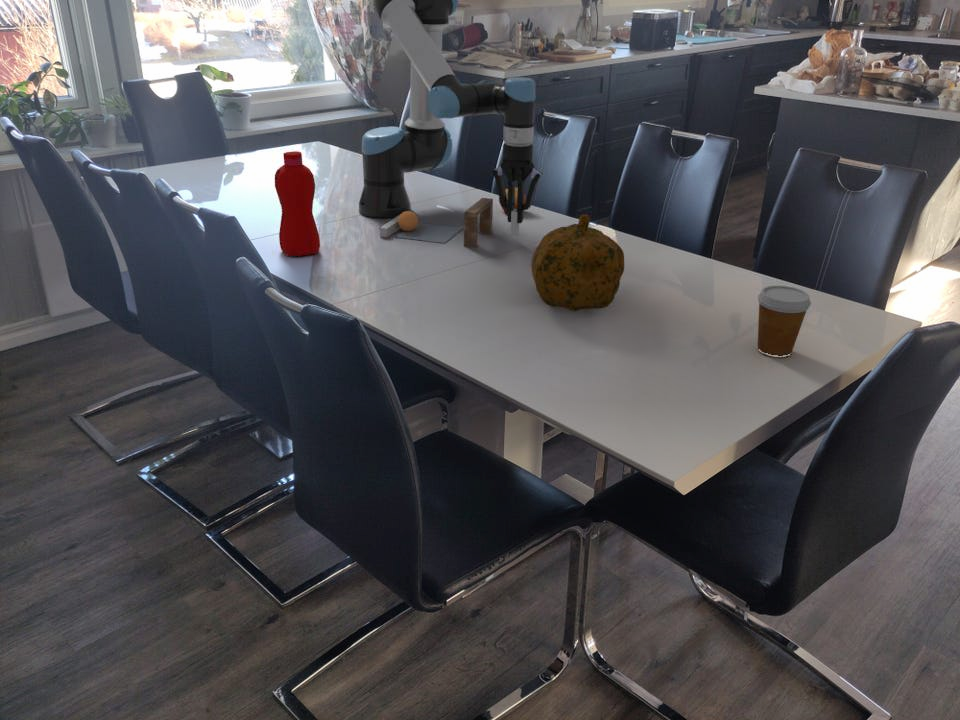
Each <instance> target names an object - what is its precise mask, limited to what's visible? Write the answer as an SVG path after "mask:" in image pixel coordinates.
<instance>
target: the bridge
mask: <svg viewBox="0 0 960 720" xmlns="http://www.w3.org/2000/svg"><path fill="white" fill-rule="evenodd" d="M493 207H494V199H493V198H488V197H481V198H480V199H479V200H477V201H476V202H475V203H473V205H471V206H470V207H468V208H467V209H466V210H464V212H463V214H464V217H463V218H464V219H463V223H464V224H463V247H468V248H476V247H477V246H478V243H479V242H478V236H479V235H478V233H479V234H487V235H490V234H492V233H493V213H494V212H493V211H494V208H493ZM478 222H479V223H478ZM478 227H479V229H478Z"/></svg>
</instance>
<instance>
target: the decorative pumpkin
mask: <svg viewBox="0 0 960 720" xmlns="http://www.w3.org/2000/svg"><path fill="white" fill-rule="evenodd" d="M590 221H591V216H590V215H588V214H581V215H580V216H579V219H578V223H573V224H570V225H567V226H560V227H558V228H554V229H553V230H551V231H549V232H548V233H547V234H545V235H544V236H543V237H542V238H541V240H540V242H539V243H538V245H537V247H536V248H535V250H534V252H533V255H532V257H531V265H530V267H531V274H532V278H533V282H534V286H535V288H536V292H537V294H538V295H539V297H540V298H541V300H542V301H543V302H544V304H546V306H550V307H553V308H563V309H568V310H570V311H572V312H578V311H583V310H584V311H585V310H593V309H594V310H595V309H603V308H606V307H608V306H610V304H611V303H612V302H613V301H614V299H615V296H616V294H617V293H618V292H619V289H620V282H621V278H622V276H623V273H624V272H625V254H624V250H623V249H622V247H621V246H620V245H619V244H618V243H617V242H616V241H615V240H614V239H612V238H611V237H610V236H608V235H607V234H604V233H603V232H602V231H601V230H599V229H597V228H595V227H594V228H593V227H589V225H590Z"/></svg>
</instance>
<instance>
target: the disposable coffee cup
mask: <svg viewBox="0 0 960 720" xmlns="http://www.w3.org/2000/svg"><path fill="white" fill-rule="evenodd" d="M757 300H758V303H759V306H758V324H757V325H758V326H757V327H758V328H757V346H758V349H760V350H761V351H762V352H764V353H768V354H771V355H778V356H783V355H788V354H790V353H791V352H793V351H794V347H795V344H796V342H797V339H798V336H799V333H800V331H801V327H802V325H803V321H804V319H805V316H806V314H807V310H808V309H809V307H811V306H812V302H811V300H810V295H809V293H808V292H806V291H804V290H803V289H799V288H797V287H793V286H789V285H788V286H787V285H768V286H765V287H763V288H762V289H761V291H760V293H759V294H758V295H757ZM758 349H757V350H758ZM791 354H792V353H791Z"/></svg>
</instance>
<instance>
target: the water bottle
mask: <svg viewBox="0 0 960 720" xmlns="http://www.w3.org/2000/svg"><path fill="white" fill-rule="evenodd" d="M282 155H283V163H284V164H283V165H281V166H279V168H278V169H277V170H276V171H275V174H274V188H275V191H276V195H277V198H278V201H279V205H280V208H281V217H280V218H281V219H280V226H279V232H278V239H279V247H280V250H281V251H282V252H283V254H284V255H286V256H287V255H288V257H291V256H298V257H303V256H302V255H305V256H311V255H310V254H314V255H315V253H316V254H317V253H319V252H320V248H321V242H320V241H321V240H320V234H319V231H318V228H317V227H318V226H317V223H316V220H315V217H314V213H313V206H314V199H315V193H316V182H315V177H314V173H313V172H312V171H311V169H310V168H309V167H308V166H307V165H305V164H303V153H302V152H301V151H299V150H298V151H297V150H294V151H285V152H283V154H282Z"/></svg>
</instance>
